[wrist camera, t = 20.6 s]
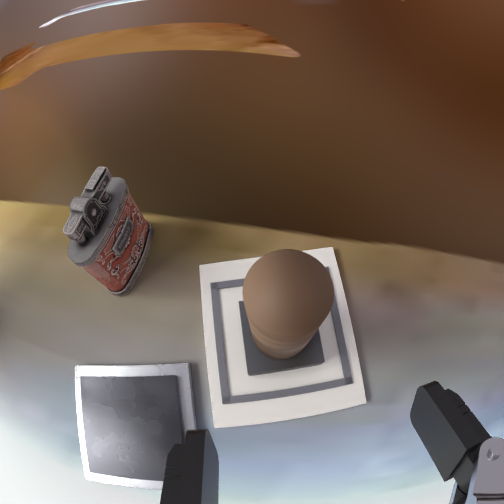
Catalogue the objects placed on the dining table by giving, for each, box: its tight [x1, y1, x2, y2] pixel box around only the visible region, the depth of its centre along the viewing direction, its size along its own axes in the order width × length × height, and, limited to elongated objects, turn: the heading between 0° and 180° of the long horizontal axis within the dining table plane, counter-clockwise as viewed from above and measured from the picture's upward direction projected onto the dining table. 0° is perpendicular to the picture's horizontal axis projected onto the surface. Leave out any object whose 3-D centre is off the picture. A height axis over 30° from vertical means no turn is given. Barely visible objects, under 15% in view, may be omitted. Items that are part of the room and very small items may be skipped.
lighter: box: [63, 167, 153, 296], centre depth 24 cm, size 8×3×10 cm, turn 166°
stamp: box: [239, 249, 334, 376], centre depth 19 cm, size 6×6×11 cm
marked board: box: [199, 247, 366, 428], centre depth 24 cm, size 12×14×1 cm
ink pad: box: [75, 363, 197, 490], centre depth 20 cm, size 11×11×1 cm
